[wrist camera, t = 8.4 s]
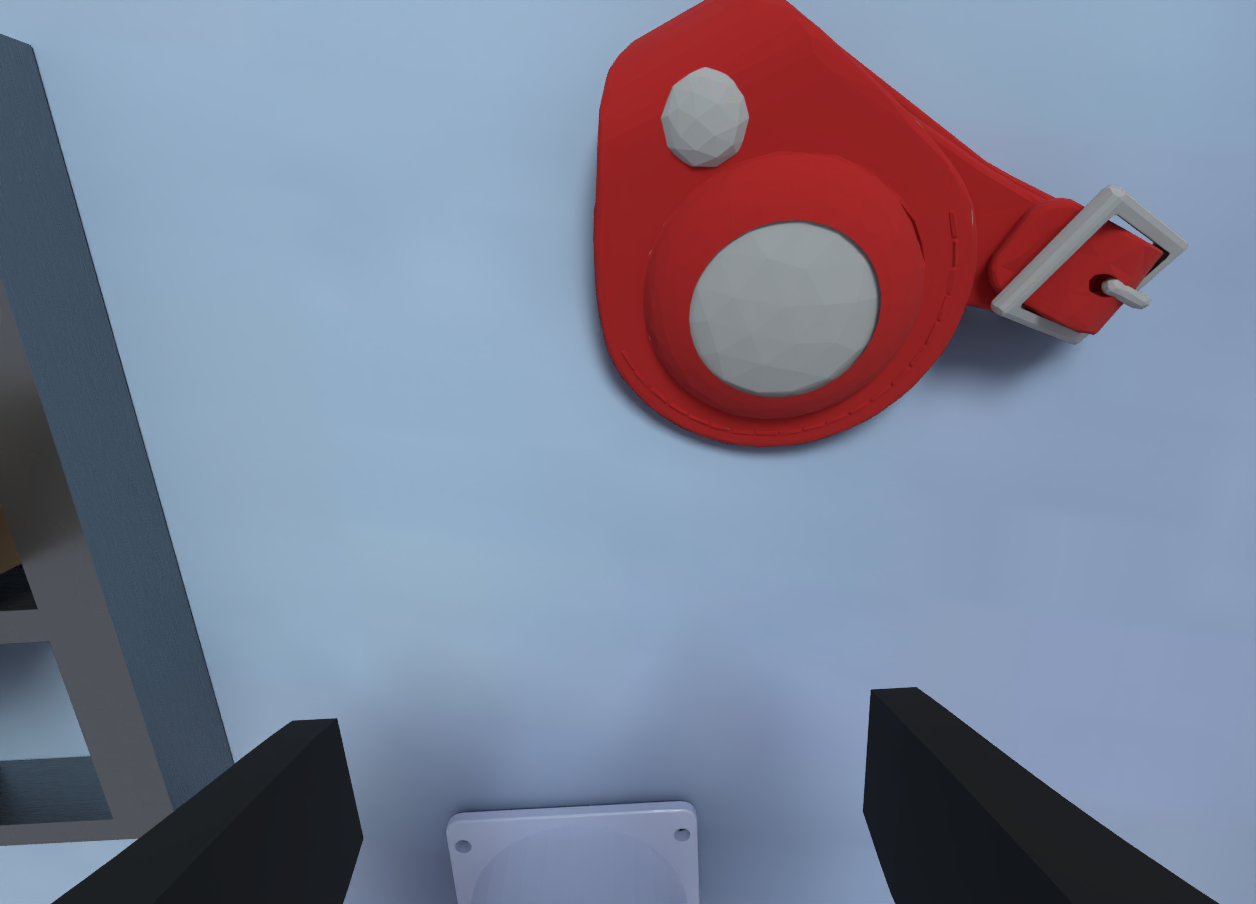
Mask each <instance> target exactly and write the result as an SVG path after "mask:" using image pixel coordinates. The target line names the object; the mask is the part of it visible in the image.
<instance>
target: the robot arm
mask: <svg viewBox="0 0 1256 904" xmlns="http://www.w3.org/2000/svg"><path fill="white" fill-rule="evenodd" d="M863 813H864V816H865V819H866V822H867V825H868V828H869V831H870V834H871V837H872V840H873V843H874V846H875V849H876V852H877V855H878V858H879V861H880V864H881V867H882V870H883V872H884V875H885V878H886V881H887V884H888V887H889V889H890V892H891V895H892V897H893V900H894V902H895V904H1219V903H1217V902H1216V901H1214V900H1213V899H1211V898H1210V897H1208V896H1207V895H1205V894H1203V893H1202V892H1200V891H1199V890H1197V889H1196V888H1194V887H1193V886H1191V885H1190V884H1188V883H1187V882H1185V881H1184V880H1182V879H1181V878H1179V877H1178V876H1177V875H1175V874H1174V873H1172V872H1171V871H1169V870H1168V869H1166V868H1165V867H1163V866H1162V865H1160V864H1159V863H1157V862H1156V861H1154V860H1153V859H1151V858H1150V857H1148V856H1147V855H1145V854H1144V853H1142V852H1141V851H1139V850H1138V849H1136V848H1135V847H1133V846H1132V845H1130V844H1129V843H1128V842H1126V841H1125V840H1123V839H1122V838H1120V837H1119V836H1117V835H1116V834H1115V833H1113V832H1112V831H1110V830H1109V829H1108V828H1106V827H1105V826H1103V825H1102V824H1100V823H1099V822H1098V821H1096V820H1095V819H1093V818H1092V817H1090V816H1089V815H1088V814H1086V813H1085V812H1083V811H1082V810H1081V809H1079V808H1078V807H1077V806H1075V805H1074V804H1072V803H1071V802H1070V801H1068V800H1067V799H1065V798H1064V797H1063V796H1061V795H1060V794H1059V793H1057V792H1056V791H1055V790H1053V789H1052V788H1050V787H1049V786H1048V785H1046V784H1045V783H1044V782H1042V781H1041V780H1040V779H1038V778H1037V777H1035V776H1034V775H1033V774H1031V773H1030V772H1029V771H1027V770H1026V769H1025V768H1023V767H1022V766H1021V765H1019V764H1018V763H1017V762H1015V761H1014V760H1013V759H1011V758H1010V757H1009V756H1007V755H1006V754H1005V753H1004V752H1002V751H1001V750H1000V749H998V748H997V747H996V746H994V745H993V744H992V743H990V742H989V741H988V740H986V739H985V738H984V737H982V736H981V735H980V734H978V733H977V732H976V731H975V730H973V729H972V728H971V727H969V726H968V725H967V724H965V723H964V722H963V721H961V720H960V719H959V718H957V717H956V716H955V715H954V714H952V713H951V712H950V711H948V710H947V709H946V708H944V707H943V706H942V705H940V704H939V703H938V702H936V701H935V700H934V699H932V698H931V697H929V696H928V695H927V694H925V693H924V692H922V691H921V690H920V689H918V688H917V687H910V688H892V689H873V690H871V695H870V710H869V726H868V741H867V757H866V772H865V788H864V803H863ZM681 828H682V829H686V830H683V831H678V829H681ZM446 837H447V843H448V849H449V854H450V860H451V866H452V872H453V878H454V883H455V889H456V895H457V901H458V904H699V870H698V836H697V817H696V811H695V808H694V807H693V806H692V805H691V804H690V803H688V802H684V801H672V802H653V803H634V804H615V805H597V806H578V807H559V808H540V809H522V810H503V811H484V812H465V813H458V814H455V815H454V816H452V817H451V818H450V820H449V822H448V825H447V829H446ZM461 840H465V841H468V842H463V841H461ZM362 841H363V834H362V829H361V825H360V820H359V816H358V811H357V807H356V802H355V798H354V793H353V788H352V784H351V779H350V775H349V770H348V766H347V761H346V757H345V752H344V747H343V743H342V738H341V734H340V729H339V725H338V720H337V718H335V719H316V720H297V721H291V722H290V723H288V724H287V725H286V726H284V727H283V728H281V729H280V730H279V731H277V732H276V733H274V734H273V735H272V736H270V737H269V738H268V739H266V740H265V741H264V742H262V743H261V744H260V745H258V746H257V747H256V748H254V749H253V750H252V751H250V752H249V753H248V754H247V755H245V756H244V757H243V758H241V759H240V760H239V761H238V762H236V763H235V764H234V765H232V766H231V767H230V768H229V769H227V770H226V771H225V772H224V773H222V774H221V775H220V776H218V777H217V778H216V779H215V780H213V781H212V782H211V783H210V784H208V785H207V786H206V787H204V788H203V789H202V790H201V791H199V792H198V793H197V794H196V795H194V796H193V797H192V798H190V799H189V800H188V801H187V802H185V803H184V804H183V805H181V806H180V807H179V808H177V809H176V810H175V811H174V812H172V813H171V814H170V815H168V816H167V817H166V818H165V819H163V820H162V821H161V822H159V823H158V824H157V825H156V826H154V827H153V828H152V829H150V830H149V831H148V832H147V833H145V834H144V835H143V836H141V837H140V838H139V839H138V840H136V841H135V842H134V843H132V844H131V845H130V846H129V847H127V848H126V849H125V850H123V851H122V852H121V853H119V854H118V855H117V856H115V857H114V858H113V859H111V860H110V861H109V862H107V863H106V864H105V865H103V866H102V867H100V868H99V869H98V870H96V871H95V872H94V873H92V874H91V875H90V876H88V877H87V878H85V879H84V880H83V881H81V882H80V883H79V884H77V885H76V886H75V887H73V888H72V889H70V890H69V891H68V892H66V893H65V894H64V895H62V896H61V897H60V898H58V899H57V900H56V901H54V902H53V903H51V904H343V902H344V899H345V896H346V893H347V890H348V887H349V884H350V880H351V877H352V874H353V871H354V867H355V864H356V861H357V857H358V854H359V851H360V848H361V844H362Z"/></svg>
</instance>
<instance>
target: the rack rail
mask: <svg viewBox="0 0 1256 904" xmlns="http://www.w3.org/2000/svg"><path fill="white" fill-rule="evenodd" d="M0 504H1V507H2V510H3V513H4V516H5V518H6V521H7V524H8V527H9V530H10V532H11V535H12V538H13V541H14V544H15V546H16V549H17V552H18V555H19V557H20V560H21V563H22V566H23V569H10V570H8V571H6V572H4V573H2V574H0V644H10V643H28V642H47V641H50V644H51V647H52V650H53V652H54V655H55V658H56V661H57V663H58V666H59V669H60V672H61V675H62V677H63V680H64V683H65V686H66V689H67V691H68V694H69V697H70V700H71V703H72V705H73V708H74V711H75V714H76V716H77V719H78V722H79V725H80V728H81V730H82V733H83V736H84V739H85V742H86V744H87V747H88V750H89V753H90V756H91V757H75V758H56V759H38V760H19V761H1V762H0V846H7V845H26V844H44V843H63V842H82V841H101V840H119V839H138V838H140V837H141V836H143V835H144V834H145V833H147V832H148V831H149V830H150V829H152V828H153V827H154V826H156V825H157V824H158V823H159V822H161V821H162V820H163V819H165V818H166V817H167V816H168V815H170V814H171V813H172V812H174V811H175V810H176V809H177V808H179V807H180V806H181V805H183V804H184V803H185V802H187V801H188V800H189V799H190V798H192V797H193V796H194V795H196V794H197V793H198V792H199V791H201V790H202V789H203V788H204V787H206V786H207V785H208V784H210V783H211V782H212V781H213V780H215V779H216V778H217V777H218V776H220V775H221V774H222V773H224V772H225V771H226V770H227V769H229V768H230V767H231V766H232V765H234V764H233V760H232V757H231V753H230V750H229V746H228V742H227V739H226V735H225V732H224V728H223V725H222V721H221V718H220V714H219V710H218V707H217V703H216V700H215V696H214V693H213V689H212V686H211V682H210V679H209V675H208V671H207V668H206V664H205V661H204V657H203V654H202V650H201V647H200V643H199V640H198V636H197V632H196V629H195V625H194V622H193V618H192V615H191V611H190V608H189V604H188V600H187V597H186V593H185V590H184V586H183V583H182V579H181V576H180V572H179V569H178V565H177V561H176V558H175V554H174V551H173V547H172V544H171V540H170V537H169V533H168V530H167V526H166V522H165V519H164V515H163V512H162V508H161V505H160V501H159V498H158V494H157V491H156V487H155V483H154V480H153V476H152V473H151V469H150V466H149V462H148V459H147V455H146V451H145V448H144V444H143V441H142V437H141V434H140V430H139V427H138V423H137V420H136V416H135V412H134V409H133V405H132V402H131V398H130V395H129V391H128V388H127V384H126V381H125V377H124V373H123V370H122V366H121V363H120V359H119V356H118V352H117V349H116V345H115V341H114V338H113V334H112V331H111V327H110V324H109V320H108V317H107V313H106V310H105V306H104V302H103V299H102V295H101V292H100V288H99V285H98V281H97V278H96V274H95V271H94V267H93V263H92V260H91V256H90V253H89V249H88V246H87V242H86V239H85V235H84V232H83V228H82V224H81V221H80V217H79V214H78V210H77V207H76V203H75V200H74V196H73V192H72V189H71V185H70V182H69V178H68V175H67V171H66V168H65V164H64V161H63V157H62V153H61V150H60V146H59V143H58V139H57V136H56V132H55V129H54V125H53V122H52V118H51V114H50V111H49V107H48V104H47V100H46V97H45V93H44V90H43V86H42V82H41V79H40V75H39V72H38V68H37V65H36V61H35V58H34V54H33V51H32V47H31V45H29V44H26V43H23V42H21V41H18V40H16V39H13V38H10V37H8V36H5V35H2V34H0Z"/></svg>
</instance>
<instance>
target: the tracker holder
mask: <svg viewBox="0 0 1256 904" xmlns="http://www.w3.org/2000/svg"><path fill="white" fill-rule="evenodd" d="M1113 215H1118V216H1119V217H1120V218H1122V219H1123V220H1124V221H1126V222H1127V223H1128V224H1130V225H1131V226H1132V227H1134V228H1135V229H1136V230H1138V231H1139V232H1140V233H1142V234H1143V235H1144V236H1146V237H1147V238H1148V239H1150V240H1151V241H1152V242H1154V243H1153V245H1152V244H1150V243H1148V242H1146V241H1144V240H1143V239H1141V238H1139V237H1137V236H1136V235H1134V234H1132V233H1130V232H1129V231H1127V230H1125V229H1123V228H1122V227H1120V226H1118V225H1116V224H1114V223H1113V222H1111V221H1109V219H1110V218H1111V217H1112V216H1113ZM593 242H594V263H595V284H596V295H597V302H598V309H599V316H600V320H601V325H602V330H603V335H604V340H605V343H606V346H607V349H608V351H609V354H610V357H611V359H612V360H613V362H614V364H615V366H616V368H617V370H618V371H619V373H620V375H621V376H622V378H623V379H624V380H625V381H626V382H627V384H628V385H629V386H630V387H631V388H632V389H633V390H634V391H635V392H636V393H637V395H638V396H639V397H640V398H641V399H642V400H643V401H644V402H645V403H646V404H647V405H648V406H650V407H651V408H652V409H654V410H655V411H656V412H657V413H659V414H660V415H661V416H663V417H664V418H666V419H668V420H669V421H671V422H673V423H674V424H676V425H678V426H679V427H681V428H683V429H686V430H688V431H691V432H693V433H696V434H698V435H701V436H703V437H706V438H710V439H713V440H717V441H720V442H724V443H729V444H737V445H746V446H756V447H768V446H786V445H796V444H801V443H806V442H811V441H815V440H818V439H822V438H826V437H828V436H831V435H834V434H836V433H839V432H842V431H844V430H847V429H849V428H851V427H854V426H856V425H858V424H860V423H863V422H865V421H866V420H868V419H870V418H872V417H873V416H875V415H877V414H878V413H880V412H881V411H882V410H884V409H885V408H887V407H888V406H890V405H891V404H892V403H894V402H895V401H897V400H898V399H899V398H900V397H902V396H903V395H904V394H905V393H906V392H907V391H909V390H910V389H911V388H912V387H913V386H914V385H915V384H916V383H917V382H918V381H919V380H920V379H921V378H922V376H923V375H924V374H925V373H926V372H927V371H928V370H929V368H930V367H931V366H932V365H933V364H934V362H935V361H936V360H937V359H938V357H939V356H940V355H941V354H942V353H943V351H944V349H945V348H946V346H947V345H948V343H949V341H950V340H951V338H952V336H953V335H954V333H955V331H956V329H957V327H958V324H959V322H960V320H961V318H962V316H963V313H964V311H965V308H966V306H973V307H977V308H982V309H987V310H991V311H993V312H994V313H996V314H997V315H1000V316H1003V317H1005V318H1008V319H1010V320H1013V321H1015V322H1018V323H1020V324H1023V325H1025V326H1028V327H1030V328H1033V329H1035V330H1038V331H1040V332H1043V333H1045V334H1048V335H1050V336H1053V337H1055V338H1058V339H1060V340H1063V341H1065V342H1068V343H1070V344H1074V345H1075V344H1077V343H1079V342H1080V341H1082V340H1083V339H1084V338H1085V337H1086V336H1087V335H1088V334H1092V335H1094V334H1096V333H1097V332H1098V331H1099V330H1100V329H1101V328H1102V327H1103V326H1104V325H1105V323H1106V322H1107V321H1108V320H1109V319H1110V318H1111V317H1112V316H1113V314H1114V313H1115V312H1116V311H1117V310H1118V309H1119V308H1120V307H1121V306H1122V305H1123V304H1126V305H1128V306H1130V307H1132V308H1137V309H1143V308H1145V307H1146V306H1148V305H1149V303H1150V301H1151V299H1150V298H1149V296H1148V295H1146V294H1144V293H1142V292H1139V290H1140V289H1141V288H1142V287H1143V286H1144V285H1146V284H1147V283H1148V282H1149V281H1150V280H1151V279H1152V278H1154V277H1155V276H1156V275H1157V274H1158V273H1159V272H1160V271H1162V270H1163V269H1164V268H1165V267H1166V266H1167V265H1168V264H1170V263H1171V262H1172V261H1173V260H1174V259H1175V258H1176V257H1178V256H1179V255H1180V254H1181V253H1182V252H1183V251H1184V250H1186V248H1187V246H1188V244H1187V242H1186V241H1185V240H1184V239H1183V238H1182V237H1180V236H1179V235H1178V234H1177V233H1175V232H1174V231H1173V230H1172V229H1171V228H1169V227H1168V226H1167V225H1166V224H1164V223H1163V222H1162V221H1161V220H1160V219H1158V218H1157V217H1156V216H1155V215H1153V214H1152V213H1151V212H1150V211H1149V210H1147V209H1146V208H1145V207H1144V206H1142V205H1141V204H1140V203H1139V202H1138V201H1136V200H1135V199H1134V198H1133V197H1131V196H1130V195H1129V194H1128V193H1127V192H1125V191H1124V190H1123V189H1122V188H1120V187H1119V186H1117V185H1109V186H1107V187H1105V188H1104V189H1102V190H1101V191H1100V192H1099V193H1098V194H1097V195H1096V196H1095V197H1094V198H1093V199H1092V200H1091V201H1090V202H1089V203H1088V205H1087V206H1086V207H1084V206H1082V205H1080V204H1078V203H1077V202H1075V201H1073V200H1071V199H1066V198H1055V197H1053V196H1051V195H1049V194H1047V193H1045V192H1043V191H1041V190H1039V189H1037V188H1035V187H1033V186H1031V185H1029V184H1027V183H1025V182H1023V181H1021V180H1019V179H1017V178H1015V177H1013V176H1011V175H1009V174H1007V173H1006V172H1004V171H1002V170H1000V169H999V168H997V167H995V166H993V165H991V164H990V163H988V162H986V161H985V160H984V159H982V158H981V157H980V156H979V155H977V154H976V153H975V152H973V151H972V150H971V149H970V148H968V147H967V146H966V145H965V144H963V143H962V142H961V141H959V140H958V139H957V138H956V137H954V136H953V135H952V134H951V133H949V132H948V131H947V130H945V129H944V128H943V127H942V126H940V125H939V124H938V123H937V122H935V121H934V120H933V119H932V118H930V117H929V116H928V115H926V114H925V113H924V112H923V111H921V110H920V109H919V108H918V107H916V106H915V105H914V104H912V103H911V102H910V101H909V100H907V99H906V98H905V97H904V96H902V95H901V94H900V93H898V92H897V91H896V90H895V89H893V88H892V87H891V86H890V85H888V84H887V83H886V82H885V81H883V80H882V79H881V78H879V77H878V76H877V75H876V74H874V73H873V72H872V71H871V70H869V69H868V68H867V67H865V66H864V65H863V64H862V63H860V62H859V61H858V60H857V59H855V58H854V57H853V56H851V55H850V54H849V53H848V52H846V51H845V50H844V49H843V48H841V47H840V46H839V45H838V44H837V43H835V42H834V41H833V40H832V39H831V38H830V37H829V36H828V35H827V34H826V33H825V32H824V31H822V30H821V29H820V28H819V27H818V26H817V25H815V24H814V23H813V22H812V21H810V20H809V19H808V18H807V17H805V16H804V15H803V14H802V13H801V12H799V11H798V10H797V9H796V8H795V7H794V6H792V5H791V4H790V3H789V2H787V1H786V0H704V1H703V2H701V3H699V4H697V5H696V6H694V7H692V8H690V9H689V10H687V11H685V12H683V13H682V14H680V15H678V16H676V17H675V18H673V19H671V20H670V21H668V22H666V23H664V24H663V25H661V26H659V27H657V28H656V29H654V30H652V31H650V32H649V33H647V34H645V35H643V36H642V37H640V38H638V39H637V40H635V41H633V42H632V43H631V44H630V45H629V46H628V47H627V48H626V49H625V50H624V51H623V52H622V53H621V54H620V55H619V56H618V58H617V59H616V60H615V62H614V63H613V65H612V66H611V67H610V69H609V72H608V74H607V77H606V82H605V86H604V91H603V96H602V100H601V105H600V110H599V127H598V145H597V177H596V203H595V208H594V234H593Z"/></svg>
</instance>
